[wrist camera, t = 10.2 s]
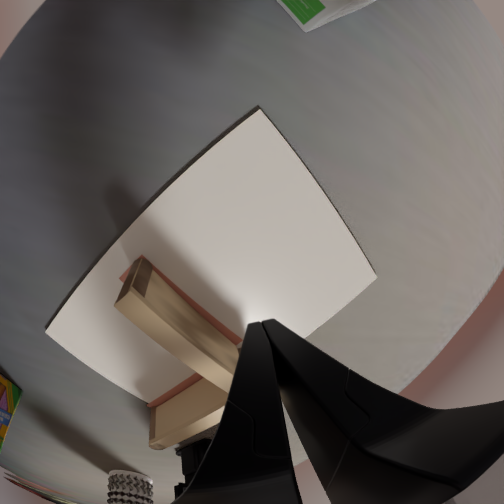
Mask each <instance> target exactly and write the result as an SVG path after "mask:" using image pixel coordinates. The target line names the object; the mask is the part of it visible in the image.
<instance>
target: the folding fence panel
mask: <svg viewBox="0 0 504 504" xmlns="http://www.w3.org/2000/svg"><path fill="white" fill-rule="evenodd" d="M114 307H115V308H116V309H117V310H118V311H119V312H121V313H122V314H123V315H124V316H125V317H126V318H127V319H129V320H130V321H131V322H132V323H133V324H134V325H136V326H137V327H138V328H139V329H140V330H142V331H143V332H144V333H145V334H146V335H148V336H149V337H150V338H151V339H153V340H154V341H155V342H156V343H158V344H159V345H160V346H162V347H163V348H164V349H165V350H167V351H168V352H169V353H171V354H172V355H173V356H175V357H176V358H177V359H179V360H180V361H182V362H183V363H184V364H186V365H187V366H188V367H190V368H191V369H193V370H194V371H196V372H197V373H198V374H200V375H201V376H203V377H204V378H206V379H207V380H209V381H210V382H212V383H213V384H215V385H216V386H218V387H219V388H221V389H223V390H224V391H226V392H227V393H229V390H230V386H231V383H232V379H233V375H234V372H235V368H236V365H237V361H238V357H239V354H238V350H237V346H236V345H235V344H233V343H232V342H231V341H230V340H229V339H227V338H226V337H225V336H224V335H223V334H222V333H220V332H219V331H218V330H217V329H216V328H215V327H214V326H212V325H211V324H210V323H209V322H208V321H207V320H206V319H205V318H203V317H202V316H201V315H200V314H199V313H198V312H197V311H196V310H195V309H194V308H192V307H191V306H190V305H189V304H188V303H187V302H186V301H185V300H184V299H183V298H182V297H181V296H180V295H178V294H177V293H176V292H175V291H174V290H173V289H172V288H171V287H170V286H169V285H168V284H167V283H166V282H165V281H164V280H163V279H162V278H161V277H160V276H159V275H158V274H157V273H156V272H155V271H154V270H153V267H152V264H151V263H150V262H149V261H148V260H146V259H143V258H139V259H136V260H135V261H134V262H133V264H132V266H131V268H130V270H129V272H128V275H127V277H126V279H125V281H124V284H123V286H122V288H121V291H120V293H119V295H118V298H117V300H116V301H115V303H114Z"/></svg>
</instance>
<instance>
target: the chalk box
mask: <svg viewBox="0 0 504 504" xmlns="http://www.w3.org/2000/svg"><path fill="white" fill-rule="evenodd" d="M22 393H23V391H22V390H20V389H19V388H18V387H16V386H15V385H14V384H12V383H11V382H10V381H9V380H7V379H6V378H5V377H4V376H3V375H1V374H0V452H1V449H2V446H3V443H4V440H5V437H6V434H7V431H8V428H9V425H10V423H11V420H12V418H13V416H14V413H15V411H16V408H17V406H18V404H19V401H20V399H21V396H22Z"/></svg>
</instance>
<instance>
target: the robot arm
mask: <svg viewBox="0 0 504 504" xmlns="http://www.w3.org/2000/svg"><path fill="white" fill-rule="evenodd" d="M281 399H282V401H281ZM282 402H283V404H284V406H285V408H286V410H287V413H288V415H289V417H290V419H291V421H292V423H293V426H294V428H295V430H296V432H297V434H298V436H299V438H300V441H301V443H302V445H303V447H304V449H305V451H306V453H307V455H308V457H309V459H310V461H311V463H312V465H313V467H314V470H315V472H316V473H317V476H318V478H319V480H320V481H321V484H322V486H323V488H324V490H325V491H326V494H327V496H328V498H329V500H330V502H331V504H504V400H503V401H499V402H494V403H489V404H483V405H477V406H470V407H463V408H455V409H434V408H430V407H426V406H424V405H421V404H418V403H416V402H414V401H412V400H409V399H407V398H405V397H402V396H400V395H398V394H396V393H393V392H391V391H389V390H387V389H385V388H383V387H381V386H379V385H377V384H375V383H373V382H371V381H369V380H368V379H366V378H364V377H362V376H361V375H359V374H357V373H356V372H354V371H353V370H351V369H349V368H348V367H346V366H345V365H343V364H342V363H340V362H338V361H337V360H335V359H334V358H332V357H331V356H329V355H328V354H326V353H325V352H323V351H322V350H320V349H319V348H317V347H316V346H314V345H313V344H311V343H310V342H308V341H307V340H305V339H304V338H302V337H301V336H299V335H298V334H296V333H295V332H293V331H292V330H290V329H289V328H287V327H286V326H284V325H283V324H281V323H280V322H279V321H277V320H276V319H273V318H272V319H267V320H263V321H262V322H260V321H257V322H253V323H249V324H248V325H247V328H246V332H245V335H244V339H243V343H242V346H241V350H240V354H239V357H238V361H237V365H236V368H235V372H234V375H233V379H232V383H231V386H230V390H229V393H228V397H227V401H226V403H225V407H224V410H223V414H222V417H221V420H220V423H219V426H218V428H217V430H216V433H215V435H214V437H213V439H212V441H211V440H209V439H203V440H201V441H198V442H196V443H194V444H192V445H190V446H187V447H185V448H183V449H180V450H178V451H176V455H178V456H181V459H182V473H183V475H185V483H179V485H177V486H174V490H175V500H174V501H173V502H172V503H171V504H303V503H302V499H301V496H300V492H299V489H298V485H297V481H296V477H295V472H294V468H293V462H292V457H291V451H290V446H289V440H288V434H287V429H286V423H285V418H284V412H283V407H282Z"/></svg>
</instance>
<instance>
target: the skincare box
mask: <svg viewBox="0 0 504 504" xmlns="http://www.w3.org/2000/svg"><path fill="white" fill-rule="evenodd" d="M276 1H277V2H278V3H279V4H280V5H281V6H282V7H283V8H284V9H285V10H286V12H287V13H288V14H289V15H290V16H291V17H292V18H293V19H294V21H295V22H296V23H297V24H298V25H299V27H300V28H301V29H302V30H303V31H304V32H309V31H311V30H313V29H315V28H318V27H320V26H322V25H324V24H326V23H328V22H331V21H333V20H335V19H337V18H340V17H342V16H344V15H347V14H349V13H352V12H354V11H357V10H359V9H361V8H363V7H365V6H367V5H369V4H370V3H372V2H374V1H376V0H276Z"/></svg>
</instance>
